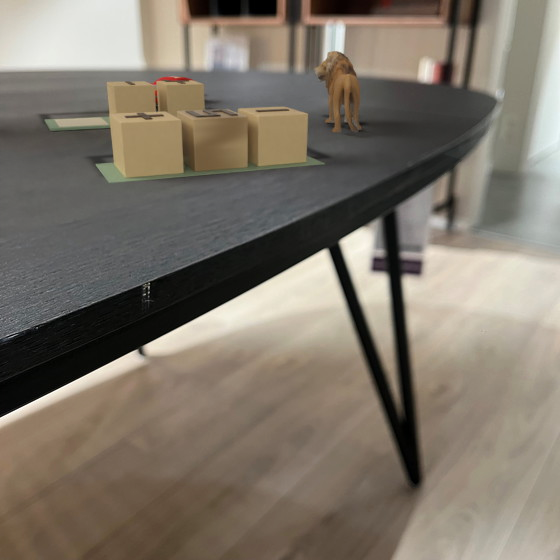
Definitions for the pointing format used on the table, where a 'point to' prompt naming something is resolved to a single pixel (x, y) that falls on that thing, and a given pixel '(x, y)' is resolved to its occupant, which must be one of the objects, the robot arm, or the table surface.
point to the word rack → (140, 102)
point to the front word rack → (169, 151)
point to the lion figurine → (340, 90)
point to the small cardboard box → (214, 139)
